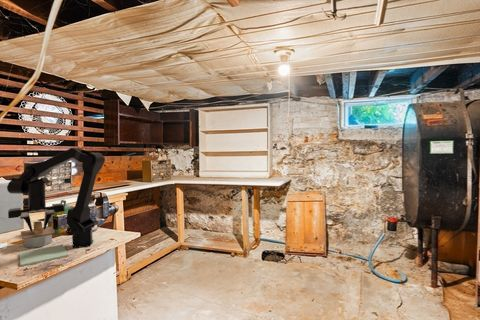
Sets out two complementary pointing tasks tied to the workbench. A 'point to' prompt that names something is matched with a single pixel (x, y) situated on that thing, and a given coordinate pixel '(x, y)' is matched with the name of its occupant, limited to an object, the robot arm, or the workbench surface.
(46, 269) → the workbench surface
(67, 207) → the green lantern
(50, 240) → the bowl
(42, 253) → the mat
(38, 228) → the cover
